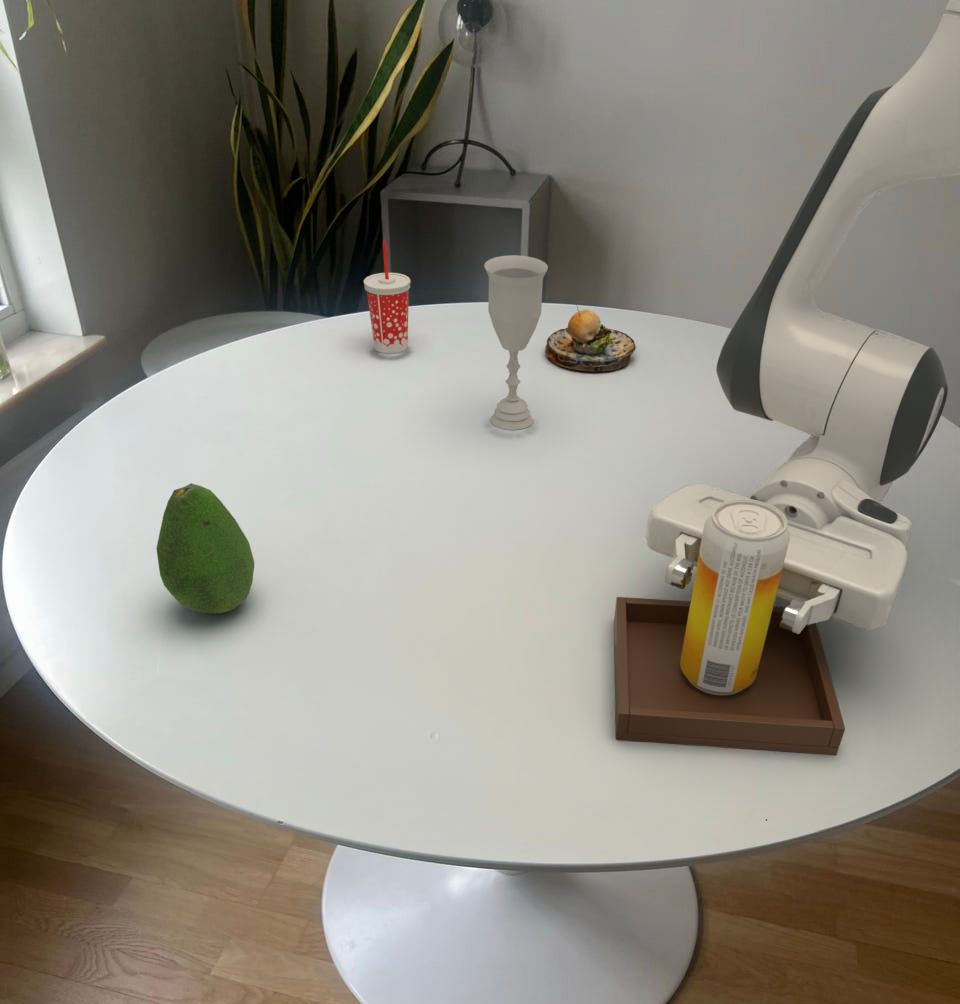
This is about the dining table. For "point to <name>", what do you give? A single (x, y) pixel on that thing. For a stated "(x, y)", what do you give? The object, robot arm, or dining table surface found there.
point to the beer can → (733, 595)
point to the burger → (589, 345)
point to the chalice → (514, 324)
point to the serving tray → (721, 718)
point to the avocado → (203, 552)
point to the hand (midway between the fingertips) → (730, 600)
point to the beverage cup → (388, 308)
